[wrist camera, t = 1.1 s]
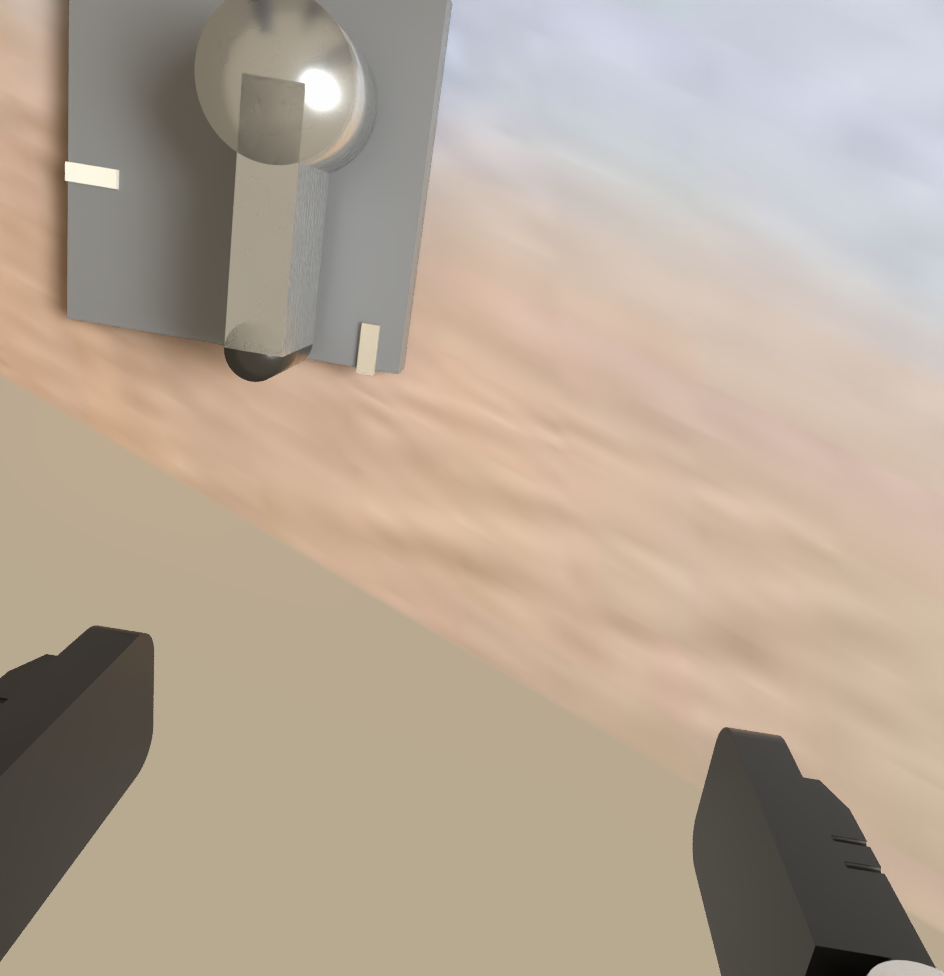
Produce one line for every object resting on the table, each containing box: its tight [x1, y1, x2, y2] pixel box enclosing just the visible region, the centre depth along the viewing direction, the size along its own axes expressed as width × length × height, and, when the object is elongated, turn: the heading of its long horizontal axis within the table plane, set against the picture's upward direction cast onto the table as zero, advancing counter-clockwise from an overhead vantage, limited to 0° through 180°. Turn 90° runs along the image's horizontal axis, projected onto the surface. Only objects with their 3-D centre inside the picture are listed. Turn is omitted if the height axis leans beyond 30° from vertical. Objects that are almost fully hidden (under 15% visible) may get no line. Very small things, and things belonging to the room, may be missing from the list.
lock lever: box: [194, 0, 378, 382], centre depth 28 cm, size 12×5×4 cm, turn 171°
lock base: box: [65, 0, 452, 376], centre depth 31 cm, size 14×14×2 cm
